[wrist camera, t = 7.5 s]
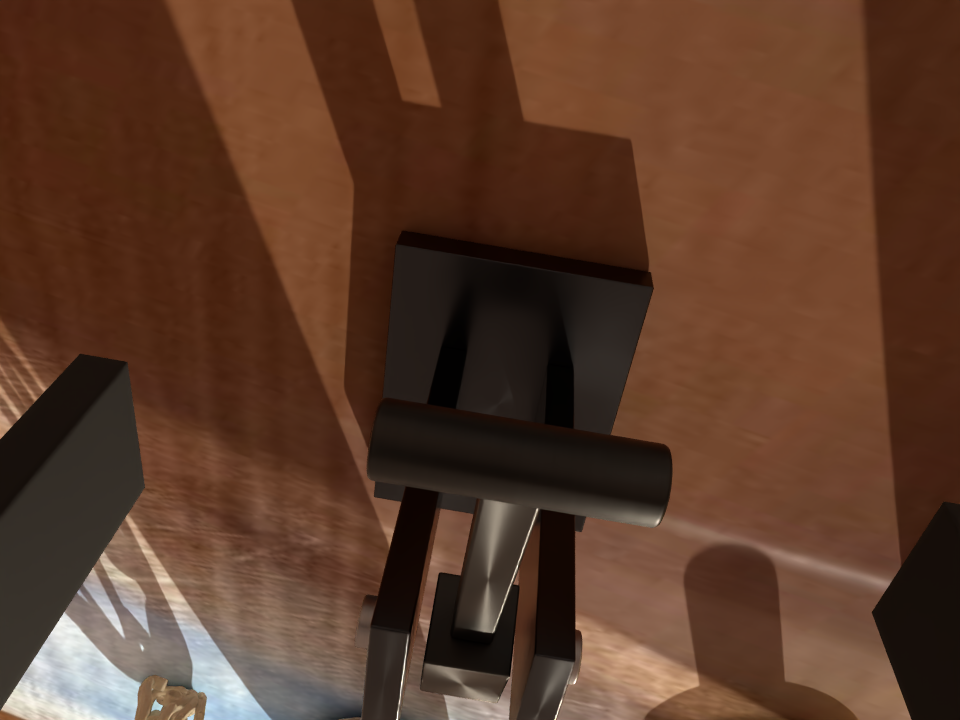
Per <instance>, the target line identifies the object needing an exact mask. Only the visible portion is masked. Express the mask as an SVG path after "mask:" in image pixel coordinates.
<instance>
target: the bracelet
mask: <svg viewBox="0 0 960 720" xmlns="http://www.w3.org/2000/svg"><path fill="white" fill-rule="evenodd" d="M167 682H168V680H167V679H165V678H162V677H159V676H156V675H153V676H149V677H148V678H146V679H145V680H144V682H143V683H142V684H141V686H140V687H139V691H138V706H137V711H136V715H135V720H187V717H189V716H192V715H193V714H194V713H195V715H194V720H204V715H205V706H206V700H207V697H206V695H205V693H203V692H199V693H197V692H196V691H195V690H193V689H191V690H187V689H185V687H183V686H166V684H167ZM152 688H153V690H152ZM155 700H157V702H158V703H159V704H161V705H163V707H162V709H161V711H159V710H154V711H152V712H151V710H152V705H153V703H154V701H155Z"/></svg>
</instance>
